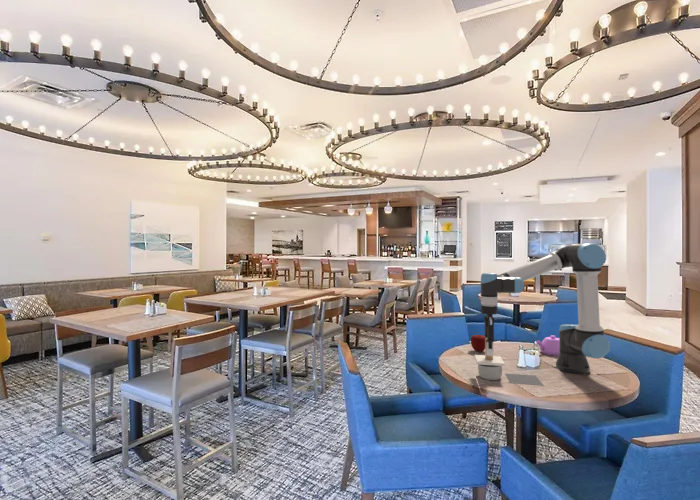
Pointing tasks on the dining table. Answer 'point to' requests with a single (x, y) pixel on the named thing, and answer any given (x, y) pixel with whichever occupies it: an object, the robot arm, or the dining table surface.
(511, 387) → the dining table surface
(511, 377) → the mat
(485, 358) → the lid
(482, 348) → the apple
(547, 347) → the teapot
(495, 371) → the teacup
